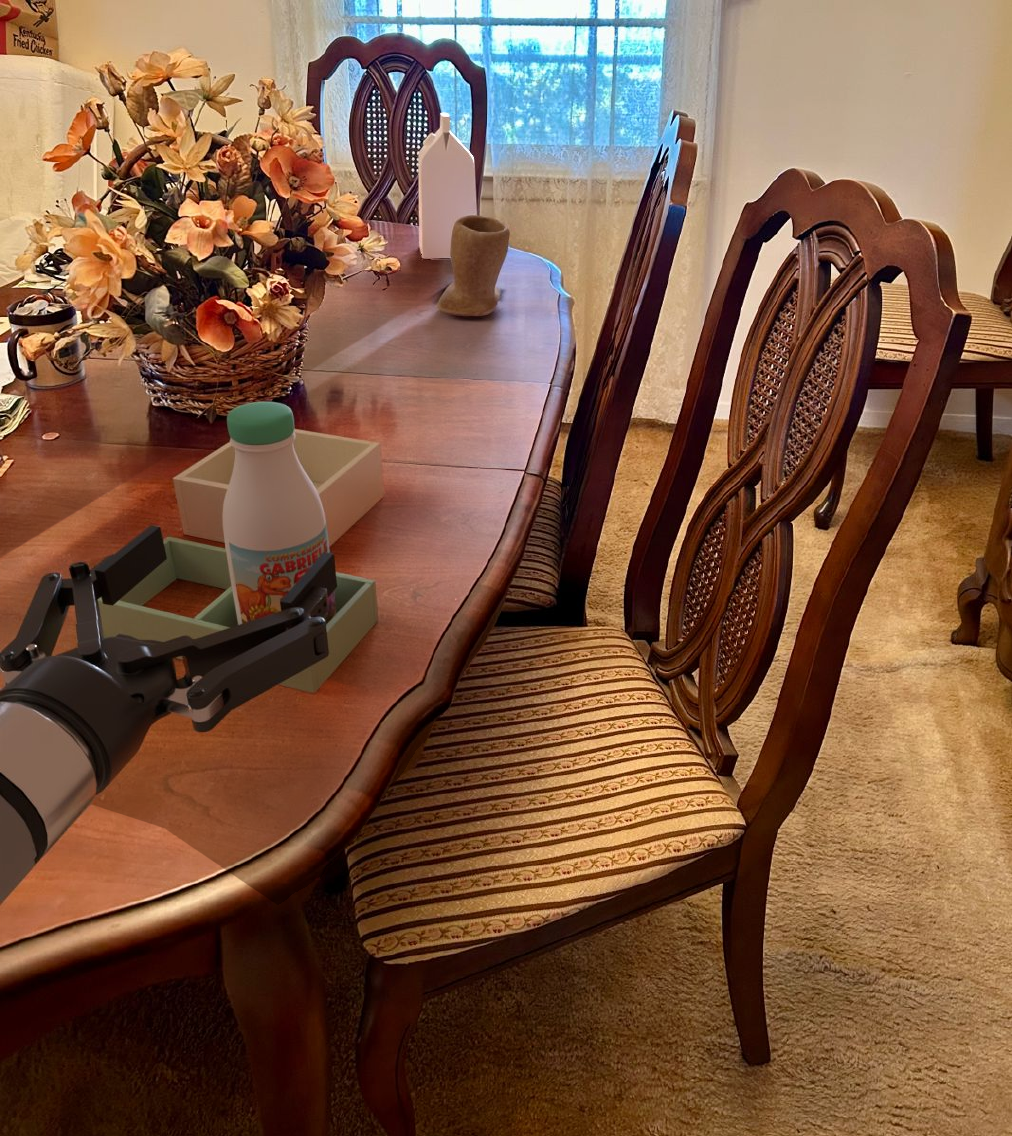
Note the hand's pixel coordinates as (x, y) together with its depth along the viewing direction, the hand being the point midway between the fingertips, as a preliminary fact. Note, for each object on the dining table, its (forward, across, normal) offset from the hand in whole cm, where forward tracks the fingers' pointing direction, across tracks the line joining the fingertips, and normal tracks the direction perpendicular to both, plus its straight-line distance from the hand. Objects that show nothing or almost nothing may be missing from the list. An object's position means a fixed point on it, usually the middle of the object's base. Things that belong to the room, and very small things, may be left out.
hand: (243, 555), depth 67 cm
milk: (+140, -32, -11) cm, 144 cm away
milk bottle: (+5, 0, -11) cm, 12 cm away
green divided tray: (+5, -5, -11) cm, 13 cm away
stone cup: (+101, -14, -11) cm, 103 cm away
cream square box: (+25, -10, -11) cm, 29 cm away
